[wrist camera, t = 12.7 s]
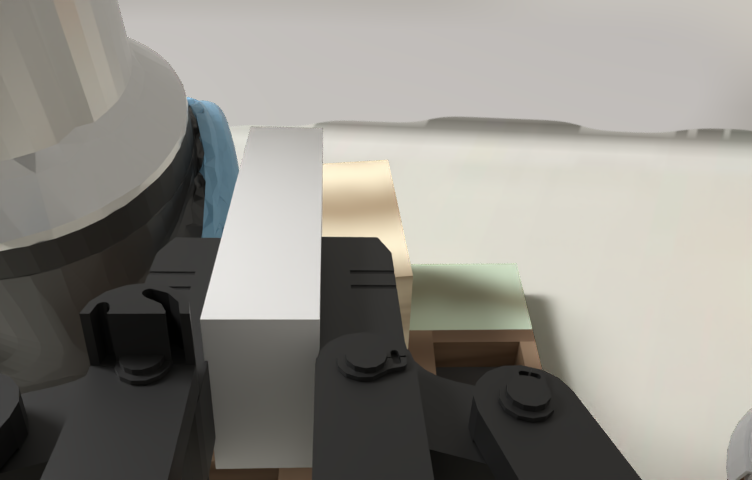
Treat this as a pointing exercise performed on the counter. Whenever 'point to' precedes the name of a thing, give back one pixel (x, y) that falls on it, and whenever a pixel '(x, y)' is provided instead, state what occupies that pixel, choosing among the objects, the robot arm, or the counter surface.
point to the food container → (740, 450)
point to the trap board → (450, 334)
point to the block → (368, 217)
